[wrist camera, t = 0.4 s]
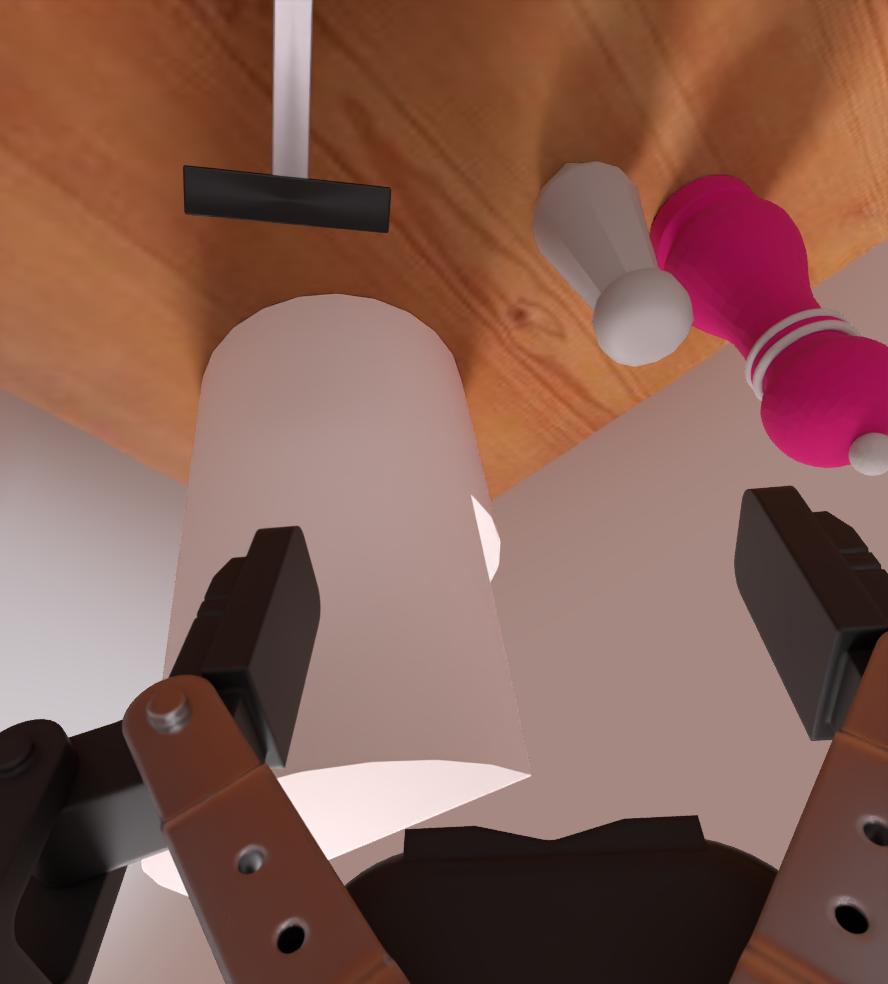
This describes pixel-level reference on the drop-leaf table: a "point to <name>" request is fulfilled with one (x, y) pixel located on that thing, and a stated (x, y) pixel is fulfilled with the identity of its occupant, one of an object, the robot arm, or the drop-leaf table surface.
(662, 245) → the pepper mill
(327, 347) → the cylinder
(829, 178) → the drop-leaf table surface
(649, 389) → the drop-leaf table surface
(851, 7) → the drop-leaf table surface
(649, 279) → the salt shaker
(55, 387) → the drop-leaf table surface
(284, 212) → the lever
